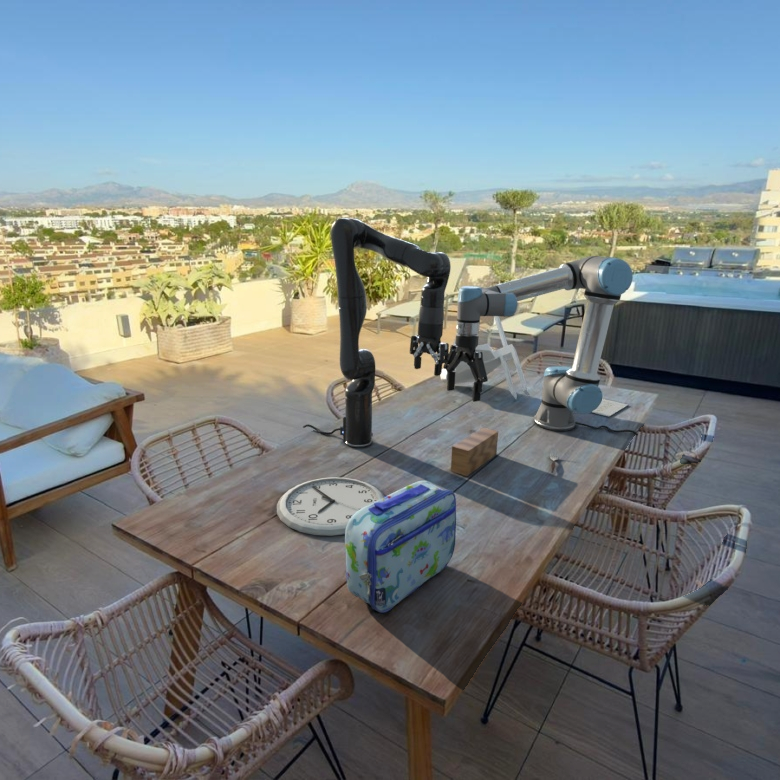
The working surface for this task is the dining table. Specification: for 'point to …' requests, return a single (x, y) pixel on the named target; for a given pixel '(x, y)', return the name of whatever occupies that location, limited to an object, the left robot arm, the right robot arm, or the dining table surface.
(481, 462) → the box
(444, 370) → the white plastic object
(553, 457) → the fork
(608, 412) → the invitation card
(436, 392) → the dining table surface
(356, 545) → the lunch box
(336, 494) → the wall clock
